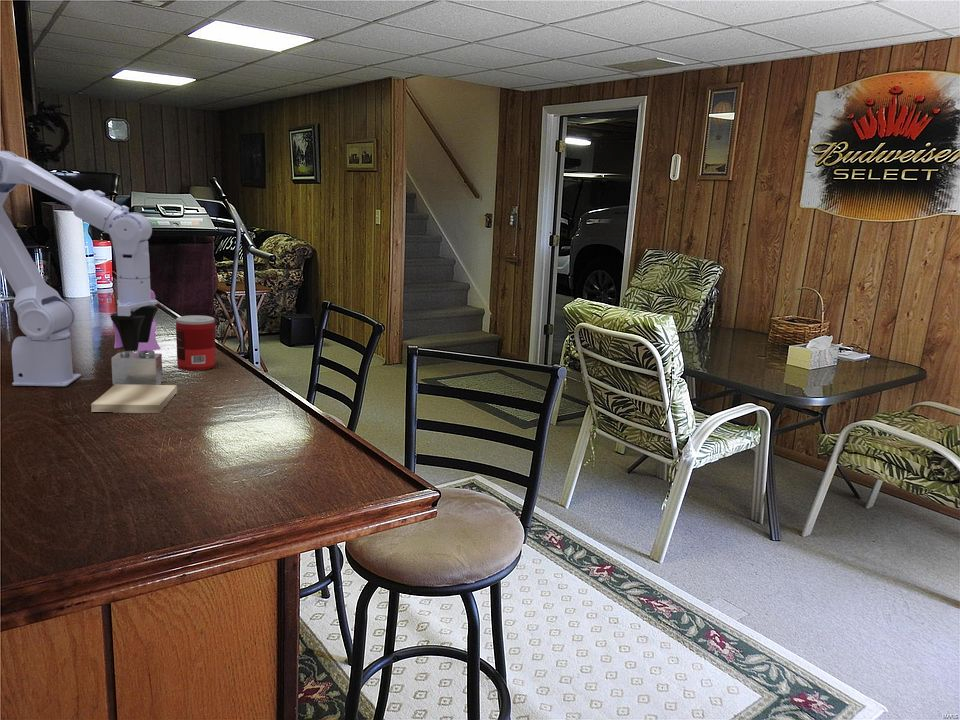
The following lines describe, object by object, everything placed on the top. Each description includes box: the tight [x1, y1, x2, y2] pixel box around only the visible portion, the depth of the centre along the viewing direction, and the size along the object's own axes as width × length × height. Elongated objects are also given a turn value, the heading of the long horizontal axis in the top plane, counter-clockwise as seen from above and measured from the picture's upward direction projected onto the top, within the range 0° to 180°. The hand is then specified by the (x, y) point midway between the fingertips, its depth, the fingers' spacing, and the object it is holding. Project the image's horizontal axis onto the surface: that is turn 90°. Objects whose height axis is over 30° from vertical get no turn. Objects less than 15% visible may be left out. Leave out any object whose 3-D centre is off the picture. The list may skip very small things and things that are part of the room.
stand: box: [90, 384, 178, 414], centre depth 127 cm, size 11×13×2 cm
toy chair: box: [112, 289, 161, 353], centre depth 165 cm, size 8×9×15 cm
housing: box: [111, 350, 163, 387], centre depth 137 cm, size 8×4×7 cm, turn 100°
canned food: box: [175, 314, 216, 372], centre depth 153 cm, size 8×8×11 cm
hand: (136, 346), depth 136 cm, fingers open, 7 cm apart
